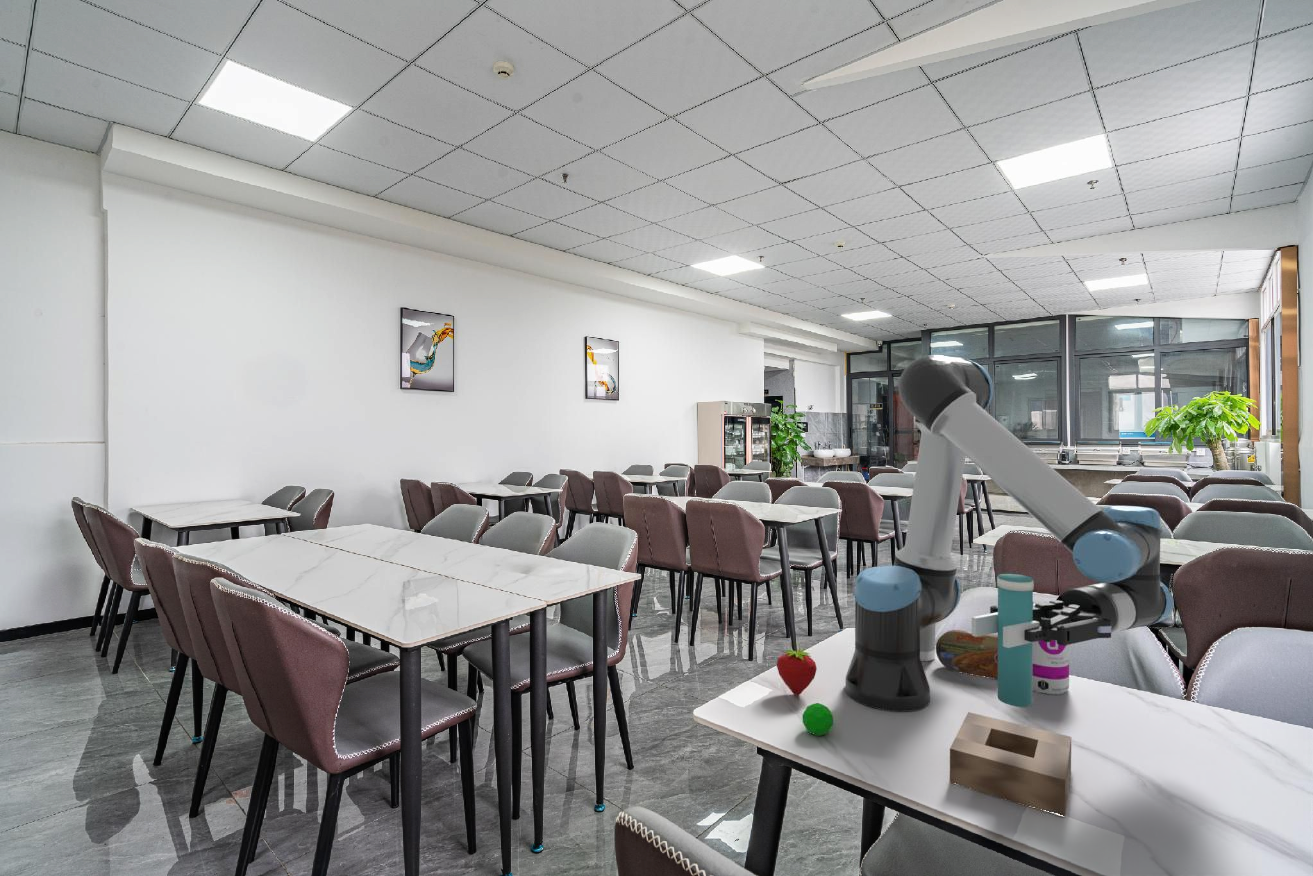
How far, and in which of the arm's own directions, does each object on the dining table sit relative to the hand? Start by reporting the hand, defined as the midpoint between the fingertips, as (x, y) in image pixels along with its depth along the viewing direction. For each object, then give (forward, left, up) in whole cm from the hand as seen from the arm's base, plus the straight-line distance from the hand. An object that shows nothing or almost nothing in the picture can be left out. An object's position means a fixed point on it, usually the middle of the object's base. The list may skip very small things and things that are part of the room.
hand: (989, 632), depth 90 cm
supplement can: (+3, +44, -22) cm, 49 cm away
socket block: (+2, +5, -22) cm, 23 cm away
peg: (+3, +5, -11) cm, 12 cm away
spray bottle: (-21, +47, -22) cm, 56 cm away
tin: (-9, +44, -22) cm, 50 cm away
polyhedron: (-26, +1, -22) cm, 34 cm away
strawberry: (-35, +13, -22) cm, 43 cm away
